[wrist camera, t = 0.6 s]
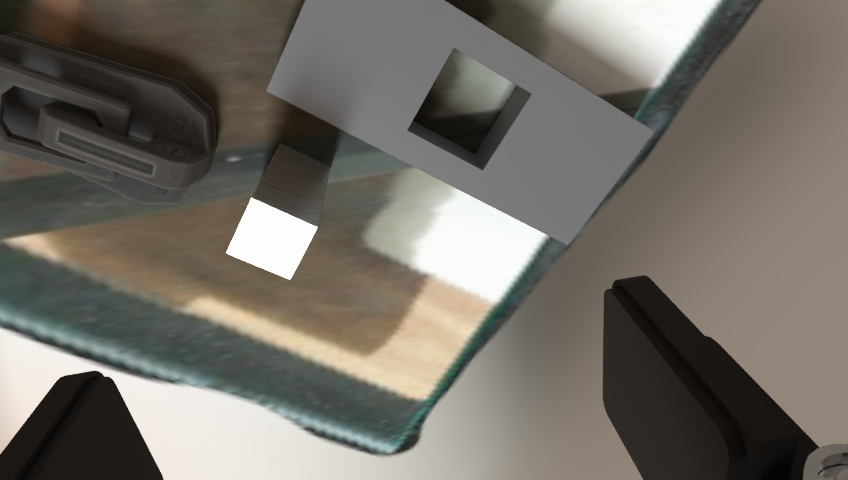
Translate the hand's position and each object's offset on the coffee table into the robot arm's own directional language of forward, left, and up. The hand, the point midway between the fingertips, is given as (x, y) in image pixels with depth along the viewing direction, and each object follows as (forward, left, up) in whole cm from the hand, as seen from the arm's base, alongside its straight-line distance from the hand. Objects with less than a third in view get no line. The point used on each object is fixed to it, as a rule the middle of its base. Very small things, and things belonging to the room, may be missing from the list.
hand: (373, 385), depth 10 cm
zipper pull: (+12, -20, -31) cm, 39 cm away
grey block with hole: (-1, +6, -31) cm, 31 cm away
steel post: (+10, -2, -31) cm, 32 cm away
